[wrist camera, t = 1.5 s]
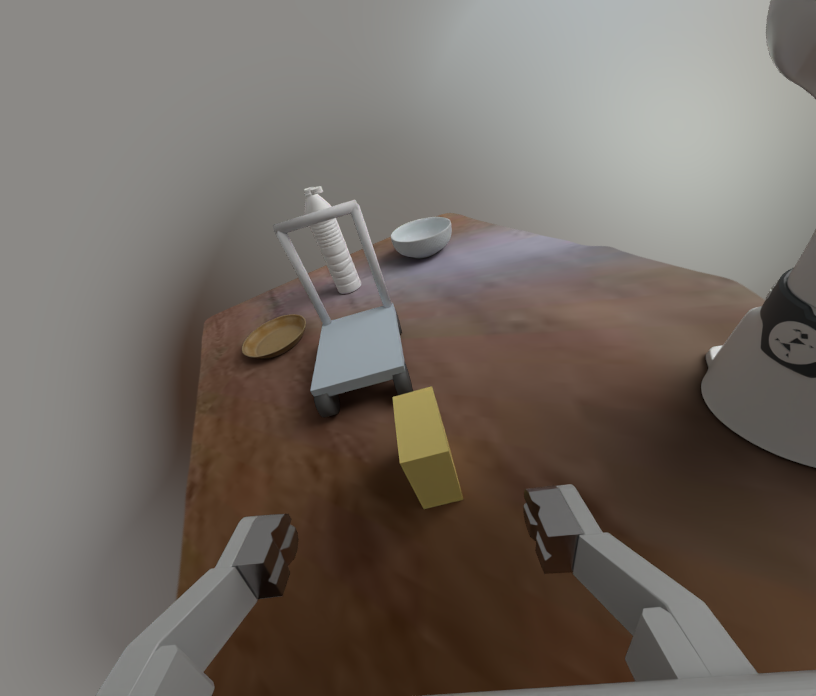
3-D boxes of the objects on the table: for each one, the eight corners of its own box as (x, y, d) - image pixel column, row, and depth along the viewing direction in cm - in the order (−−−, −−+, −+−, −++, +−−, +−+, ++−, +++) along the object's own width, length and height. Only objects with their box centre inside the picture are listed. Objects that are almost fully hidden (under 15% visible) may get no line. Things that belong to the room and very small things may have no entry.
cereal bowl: (425, 270, 77) (418, 244, 73) (386, 261, 88) (378, 237, 84) (466, 242, 84) (463, 217, 79) (425, 237, 95) (420, 214, 91)
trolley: (400, 323, 61) (358, 195, 46) (414, 400, 45) (356, 240, 29) (335, 342, 62) (273, 222, 47) (326, 423, 46) (225, 280, 30)
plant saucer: (318, 340, 65) (313, 330, 63) (253, 376, 61) (245, 367, 59) (301, 315, 75) (296, 307, 74) (245, 344, 71) (238, 336, 70)
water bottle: (334, 290, 81) (290, 192, 66) (354, 279, 84) (315, 182, 68) (349, 299, 75) (303, 193, 60) (370, 287, 77) (331, 182, 62)
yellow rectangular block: (446, 437, 39) (431, 386, 33) (463, 499, 32) (448, 450, 26) (413, 446, 39) (392, 397, 33) (423, 509, 33) (399, 463, 27)
